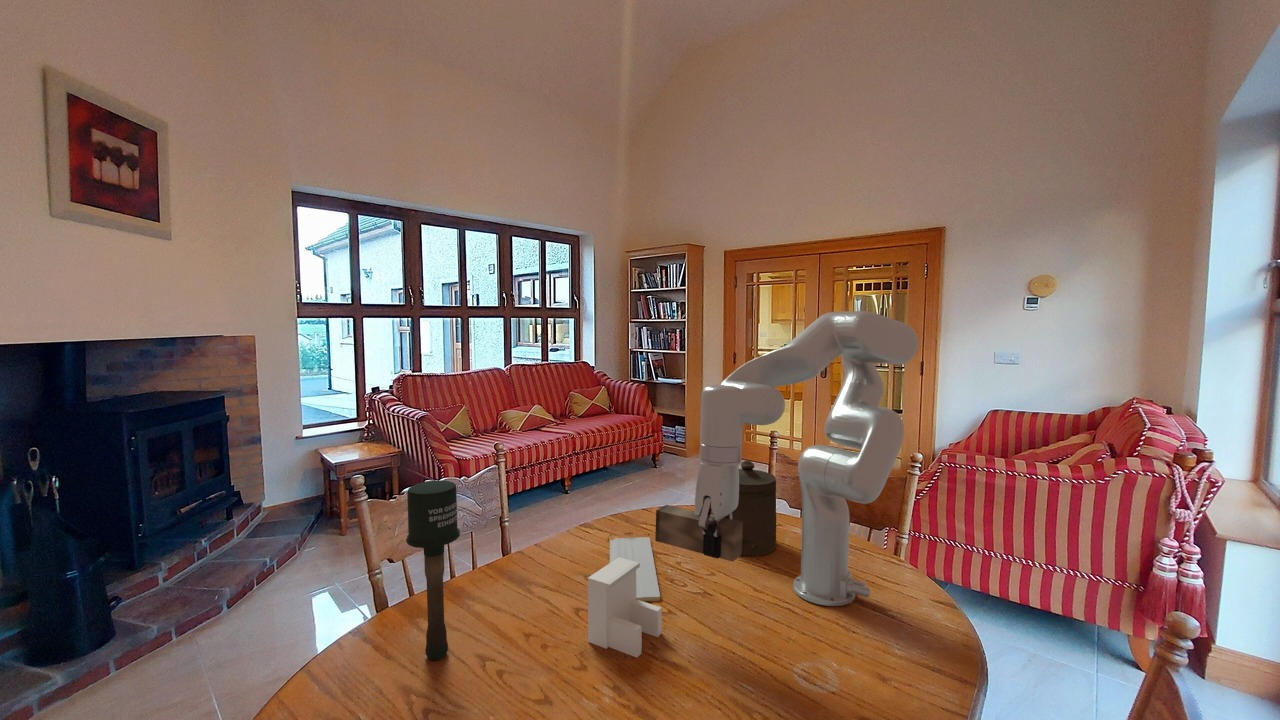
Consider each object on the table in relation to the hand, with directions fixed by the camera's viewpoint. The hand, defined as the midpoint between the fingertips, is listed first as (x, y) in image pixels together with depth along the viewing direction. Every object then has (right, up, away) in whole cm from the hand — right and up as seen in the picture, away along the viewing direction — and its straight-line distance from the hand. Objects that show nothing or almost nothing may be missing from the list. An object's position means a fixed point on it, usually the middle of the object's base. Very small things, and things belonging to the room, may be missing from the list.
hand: (717, 550), depth 99 cm
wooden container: (+14, -13, +42) cm, 46 cm away
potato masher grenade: (-49, -17, -5) cm, 52 cm away
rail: (-3, 0, +2) cm, 4 cm away
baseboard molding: (-17, -15, +29) cm, 36 cm away
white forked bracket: (-17, -16, 0) cm, 23 cm away
